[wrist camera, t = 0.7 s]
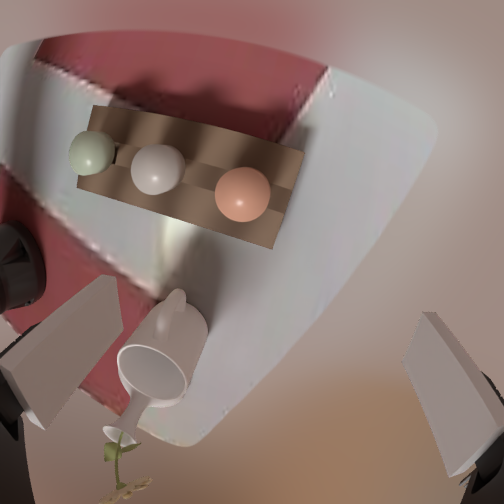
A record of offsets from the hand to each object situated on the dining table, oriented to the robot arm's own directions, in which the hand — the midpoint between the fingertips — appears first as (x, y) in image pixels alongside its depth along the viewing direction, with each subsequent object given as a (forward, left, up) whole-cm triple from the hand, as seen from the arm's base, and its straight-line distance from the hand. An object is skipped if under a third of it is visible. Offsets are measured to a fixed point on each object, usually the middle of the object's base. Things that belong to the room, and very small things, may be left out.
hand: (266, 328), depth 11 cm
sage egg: (-20, +3, -17) cm, 26 cm away
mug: (-8, -15, -21) cm, 27 cm away
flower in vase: (-10, -28, -21) cm, 37 cm away
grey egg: (-12, +3, -17) cm, 21 cm away
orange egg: (-4, +2, -17) cm, 18 cm away
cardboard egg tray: (-12, +3, -21) cm, 24 cm away
